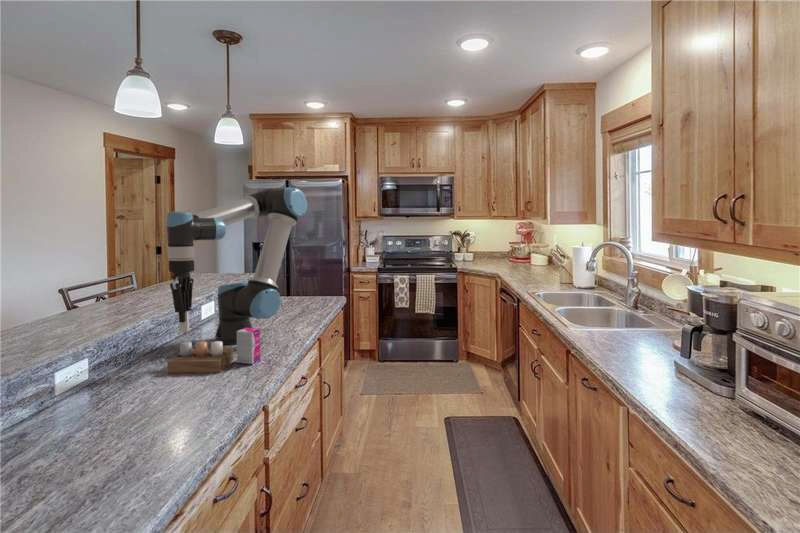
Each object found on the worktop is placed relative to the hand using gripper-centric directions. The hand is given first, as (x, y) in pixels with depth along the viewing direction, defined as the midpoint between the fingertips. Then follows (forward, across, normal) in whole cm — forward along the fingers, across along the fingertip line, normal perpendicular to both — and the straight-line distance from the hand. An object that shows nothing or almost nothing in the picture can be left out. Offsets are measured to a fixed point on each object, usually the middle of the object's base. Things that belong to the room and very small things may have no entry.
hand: (184, 331), depth 150 cm
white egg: (+8, 0, +10) cm, 13 cm away
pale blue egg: (+8, 0, 0) cm, 8 cm away
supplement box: (+12, -4, +20) cm, 23 cm away
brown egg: (+8, 0, +5) cm, 10 cm away
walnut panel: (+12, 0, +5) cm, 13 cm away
